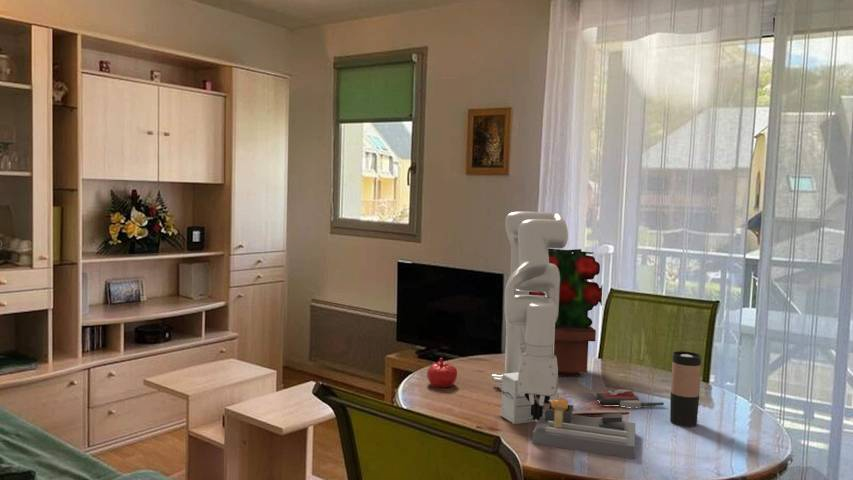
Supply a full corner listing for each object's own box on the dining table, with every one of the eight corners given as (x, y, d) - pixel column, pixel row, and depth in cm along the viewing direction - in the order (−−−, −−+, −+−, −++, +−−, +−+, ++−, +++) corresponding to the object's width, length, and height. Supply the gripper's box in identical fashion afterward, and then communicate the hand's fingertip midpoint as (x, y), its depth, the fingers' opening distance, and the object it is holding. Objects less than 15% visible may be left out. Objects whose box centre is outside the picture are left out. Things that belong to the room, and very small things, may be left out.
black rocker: (602, 422, 171) (601, 418, 171) (603, 418, 175) (602, 414, 175) (621, 422, 170) (621, 417, 170) (622, 417, 173) (621, 413, 173)
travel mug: (664, 418, 188) (668, 350, 187) (689, 418, 189) (693, 351, 188) (676, 427, 181) (680, 357, 180) (702, 427, 181) (706, 357, 180)
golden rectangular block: (553, 429, 167) (554, 410, 166) (555, 425, 170) (556, 406, 170) (561, 430, 166) (562, 411, 166) (563, 426, 169) (564, 407, 169)
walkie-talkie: (602, 410, 195) (665, 409, 198) (603, 396, 195) (665, 395, 198) (592, 401, 204) (651, 400, 207) (592, 387, 204) (652, 387, 206)
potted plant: (598, 380, 226) (604, 253, 223) (535, 378, 227) (540, 251, 224) (583, 364, 248) (588, 248, 245) (526, 362, 249) (530, 246, 246)
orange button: (550, 412, 175) (550, 401, 175) (552, 407, 180) (552, 397, 179) (566, 414, 174) (567, 403, 174) (568, 409, 178) (568, 399, 178)
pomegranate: (456, 390, 211) (458, 362, 210) (426, 389, 211) (427, 361, 210) (456, 381, 220) (457, 354, 220) (427, 380, 221) (428, 353, 220)
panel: (532, 443, 166) (533, 420, 165) (542, 421, 183) (543, 400, 183) (633, 458, 158) (635, 434, 158) (635, 433, 175) (636, 412, 175)
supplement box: (499, 416, 186) (501, 373, 185) (521, 413, 189) (523, 371, 188) (513, 424, 179) (514, 380, 179) (535, 421, 182) (537, 377, 181)
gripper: (508, 350, 167) (505, 419, 169) (566, 356, 163) (563, 427, 164) (514, 344, 175) (511, 410, 176) (570, 349, 170) (567, 418, 171)
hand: (536, 418), depth 170 cm, fingers closed
